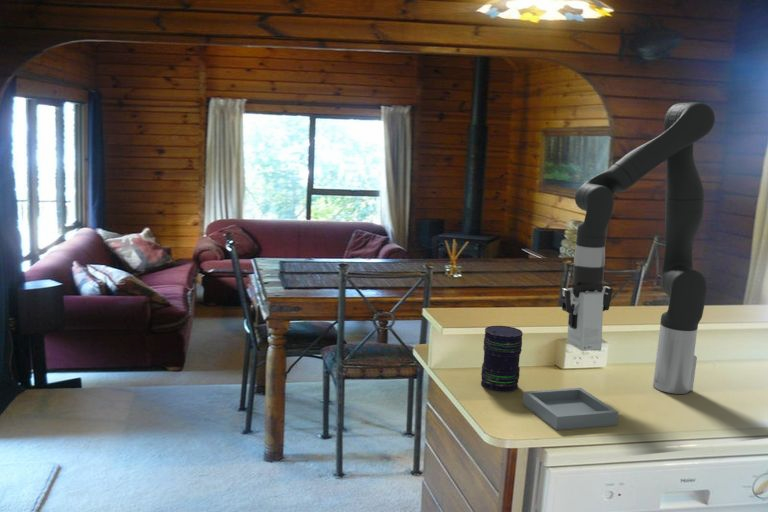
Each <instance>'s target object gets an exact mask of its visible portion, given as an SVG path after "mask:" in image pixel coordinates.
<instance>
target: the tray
mask: <svg viewBox="0 0 768 512" xmlns="http://www.w3.org/2000/svg"><path fill="white" fill-rule="evenodd" d="M522 397H523V398H522V405H523V406H525V407H526V408H527V409H528V410H530V411H531V412H532V413H534V414H535V415H536V416H537V417H539V419H541V420H542V421H544V422H545V423H546V424H548V425H549V426H550V427H551V428H552V429H553V430H555V431H562V430H574V429H585V428H596V427H609V426H617V425H618V418H619V411H617V409H614V408H613V407H612V406H610V405H608V404H606V403H605V402H604V401H602V400H601V399H599V398H597V397H596V396H594V395H593V394H591V393H590V392H589V391H587V390H585V389H584V388H582V387H576V388H575V387H572V388H557V389H555V388H554V389H544V390H543V389H542V390H540V389H539V390H527V391H523V395H522Z"/></svg>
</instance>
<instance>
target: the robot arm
mask: <svg viewBox="0 0 768 512" xmlns="http://www.w3.org/2000/svg"><path fill="white" fill-rule="evenodd" d="M715 119H716V116H715V113H714V110H713V108H712V107H711V106H709V105H708V104H706V103H703V102H696V101H695V102H677V103H675V104H673V105H671V106H670V108H668V110H667V112H666V113H665V117H664V121H663V128H664V131H663V132H662V133H661V134H660V135H658V136H656V137H655V138H653V139H651V140H649V141H647V142H645V143H643V144H642V145H640V146H637V147H636V148H634V149H633V150H631V151H629V152H628V153H627V154H625V155H624V156H622V157H621V158H620V159H618V160H617V161H616V162H615V163H613V164H612V165H611V166H610V167H609V168H608V169H606V170H605V171H602V172H600V173H599V174H597V175H595V176H593V177H591V178H589V180H587V181H585V182H584V183H582V185H581V186H580V187H579V188H578V189H577V191H576V192H575V195H574V201H575V204H576V207H578V209H580V210H582V211H583V212H584V211H585V212H586V213H585V215H584V216H585V217H584V221H582V222H580V223H579V224H578V226H577V232H576V242H575V249H574V255H573V269H572V271H573V272H572V282H573V283H572V286H571V287H569V288H565V287H562V288H561V290H560V294H561V298H560V299H561V310H562V311H564V312H566V313H569V321H568V320H567V325H568V324H569V326H570V327H571V328H573V329H576V328H577V316H578V315H576V314H577V312H578V307H579V305H580V301H578V302H575V301H574V296H575V297H576V298H578V297H579V293H581V292H583V293H589V292H601V293H603V312H605V311H609V310H610V306H611V301H612V296H613V290H614V289H613V288H612V287H610V286H608V285H604V286H603V284H602V283H603V282H604V274H605V263H606V250H605V248H606V236H607V235H606V234H607V228H608V225H609V224H610V220H611V217H612V213H613V210H614V204H615V203H614V194H616V193H623V192H626V191H627V190H629V189H630V188H631V187H633V186H634V185H636V184H637V182H638V181H640V180H642V178H644V177H645V176H646V175H648V174H649V173H650V172H651V171H653V169H655V168H656V167H658V166H659V165H661V164H662V163H663V162H666V167H665V168H666V170H665V172H666V174H665V179H666V180H665V185H666V186H665V202H664V203H665V204H664V205H665V208H664V209H665V210H664V213H665V215H664V217H665V221H664V223H665V224H664V225H665V226H664V253H663V258H662V259H663V261H662V268H661V274H660V275H661V276H660V285H661V288H662V290H663V292H664V293H665V295H667V296H668V297H669V302H668V309H667V310H666V311H665V312H663V313H662V314H661V316H660V325H659V333H658V338H657V339H658V340H657V347H656V348H657V349H656V357H655V365H654V373H653V381H652V382H653V383H652V386H653V387H654V388H655V389H656V390H658V391H661V392H663V393H669V394H676V395H678V394H679V395H685V394H689V392H692V391H693V390H694V383H695V375H696V369H697V360H698V357H697V356H696V355H695V352H696V351H695V350H696V344H697V343H696V342H697V336H698V335H697V334H698V327H699V323H700V321H701V320H702V318H703V315H704V309H705V303H706V297H707V293H708V292H707V289H708V287H707V286H708V285H707V280H706V277H705V276H704V274H702V272H700V271H698V270H696V269H694V268H693V266H694V265H693V247H694V243H695V242H694V241H695V240H696V236H697V234H698V233H699V230H700V227H701V225H702V221H703V217H704V212H705V211H704V210H705V209H704V208H705V207H704V205H705V191H704V190H705V189H704V185H703V182H702V179H701V177H700V175H699V172H698V169H697V167H696V164H695V159H694V158H695V157H694V143H695V142H698V141H699V140H700V139H702V138H704V137H705V136H707V135H708V134H710V132H711V131H712V129H713V128H714V125H715V121H716V120H715ZM572 293H573V294H574V296H573V298H572V300H571V296H572ZM574 305H575V307H574Z"/></svg>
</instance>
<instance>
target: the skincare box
mask: <svg viewBox="0 0 768 512" xmlns="http://www.w3.org/2000/svg"><path fill="white" fill-rule="evenodd" d="M573 296H574V294H573V293H572V296H571V300H572V298H573ZM574 301H575V302H578V301H580V305H579V307H578V312H577V314H576V315H578V316H577V328H576V329H573V328H571V327H570V326H569V324H568V323H567V344H569V345H570V346H573V347H574V348H576V349H578V350H580V351H582V352H588V351H591V352H592V351H593V352H595V351H602V348H603V347H602V344H603V343H602V341H603V340H602V339H603V317H604V316H603V315H604V311H603V293H602V292H589V293H583V292H581V293H579V297H578V298H576V297H575V296H574ZM574 307H575V305H574ZM567 313H568V312H567ZM567 315H568V316H567V318H568V319H567V322H568V321H569V313H568V314H567Z"/></svg>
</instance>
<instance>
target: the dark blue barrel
mask: <svg viewBox="0 0 768 512" xmlns="http://www.w3.org/2000/svg"><path fill="white" fill-rule="evenodd" d="M523 334H524V333H523V331H522V330H521V329H518V328H516V327H513V326H507V325H490V326H486V327H485V329H484V338H483V346H482V347H483V352H484V353H483V363H482V364H481V374H480V376H481V378H480V379H481V381H480V386H481V387H482V388H484V389H486V390H488V391H492V392H497V393H511V392H515V391H517V390H518V389H519V384H518V383H519V380H520V356H521V352H522V347H523Z"/></svg>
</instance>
